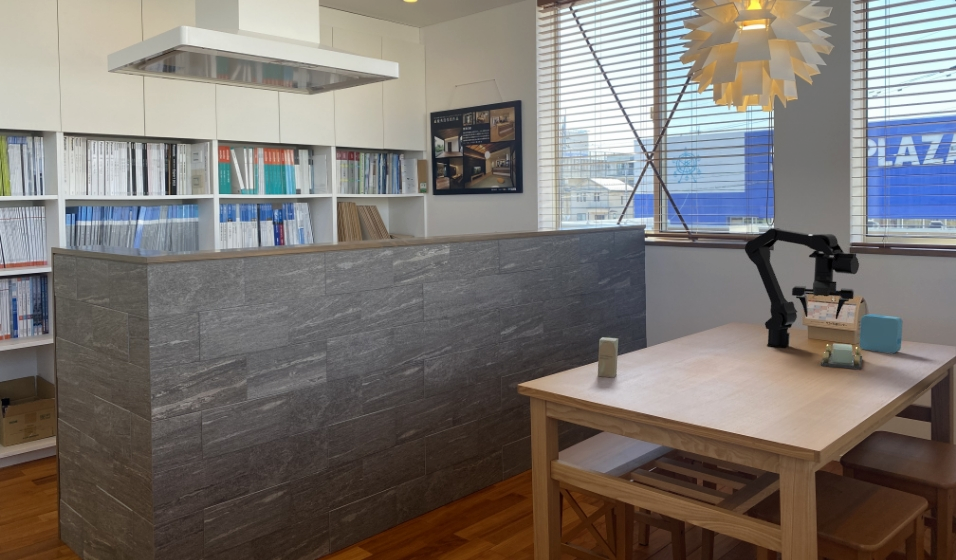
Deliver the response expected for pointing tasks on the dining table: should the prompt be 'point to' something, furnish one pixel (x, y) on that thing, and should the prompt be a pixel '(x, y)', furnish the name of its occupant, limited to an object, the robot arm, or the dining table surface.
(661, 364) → the dining table surface
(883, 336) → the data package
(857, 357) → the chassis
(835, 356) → the pale green block
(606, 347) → the box
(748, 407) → the dining table surface
